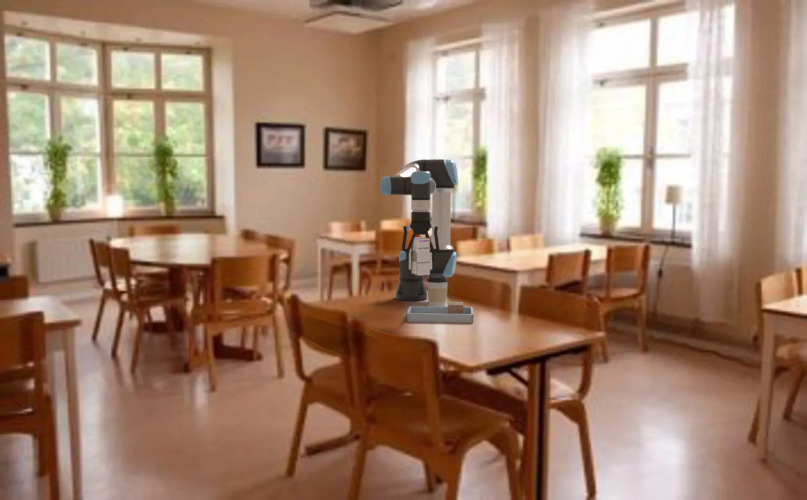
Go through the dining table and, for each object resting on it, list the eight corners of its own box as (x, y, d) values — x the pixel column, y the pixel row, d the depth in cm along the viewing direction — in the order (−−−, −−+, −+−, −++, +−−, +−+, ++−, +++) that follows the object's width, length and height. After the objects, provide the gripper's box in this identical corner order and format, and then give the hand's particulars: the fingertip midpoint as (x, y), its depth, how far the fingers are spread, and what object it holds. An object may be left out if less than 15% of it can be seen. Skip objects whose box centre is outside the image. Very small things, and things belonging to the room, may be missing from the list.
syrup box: (430, 274, 266) (430, 238, 265) (417, 275, 264) (417, 238, 262) (423, 273, 271) (424, 237, 270) (410, 273, 269) (410, 237, 267)
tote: (409, 315, 278) (409, 305, 277) (472, 316, 275) (472, 307, 275) (406, 323, 262) (406, 313, 261) (473, 325, 260) (473, 314, 259)
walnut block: (448, 316, 271) (448, 301, 271) (463, 317, 271) (463, 302, 270) (447, 319, 265) (448, 304, 265) (463, 320, 265) (463, 304, 264)
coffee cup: (448, 308, 294) (448, 274, 292) (447, 312, 285) (447, 276, 283) (427, 307, 295) (427, 273, 293) (425, 311, 286) (426, 276, 284)
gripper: (393, 211, 262) (393, 270, 264) (446, 211, 260) (446, 270, 263) (395, 210, 269) (395, 267, 272) (447, 210, 268) (446, 268, 270)
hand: (420, 269), depth 267 cm, fingers closed on syrup box, 7 cm apart
